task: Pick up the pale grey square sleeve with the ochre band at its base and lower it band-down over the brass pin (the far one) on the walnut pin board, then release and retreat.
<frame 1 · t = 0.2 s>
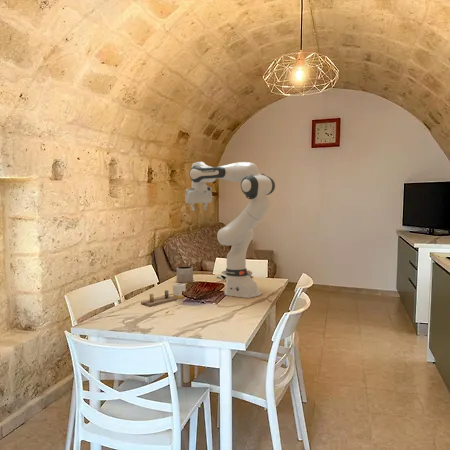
hand: (199, 210, 252), 47 cm above the table, fingers open, 8 cm apart
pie: (237, 278, 278), on the table
sleeve: (179, 297, 226), on the table
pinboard: (159, 302, 216), on the table
planter: (184, 281, 267), on the table
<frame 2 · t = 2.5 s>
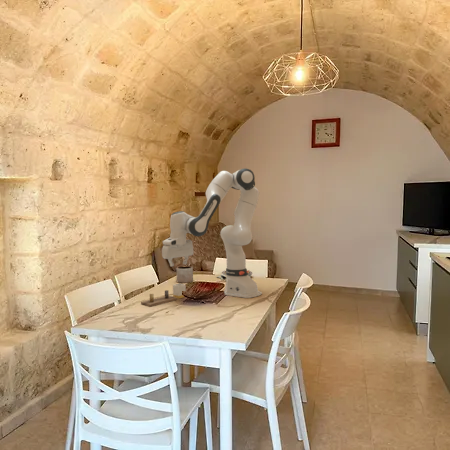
hand: (178, 265, 224), 18 cm above the table, fingers open, 8 cm apart
nothing on the table moved.
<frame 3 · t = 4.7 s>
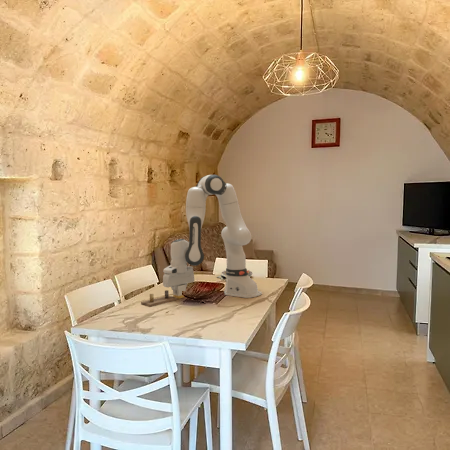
hand: (179, 292, 226), 3 cm above the table, fingers closed on sleeve, 5 cm apart
sleeve: (179, 297, 226), on the table, touching gripper
everything else where it was.
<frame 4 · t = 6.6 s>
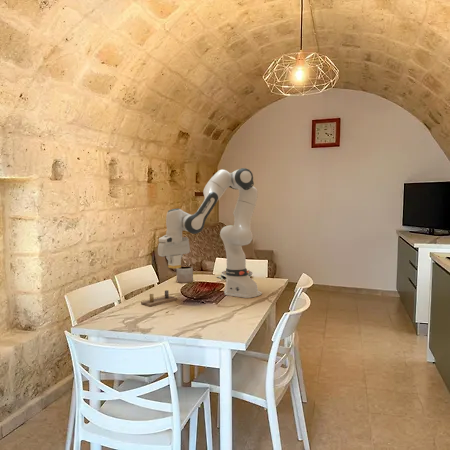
hand: (174, 262, 223), 20 cm above the table, fingers closed on sleeve, 5 cm apart
sleeve: (174, 267, 223), point 17 cm above the table, touching gripper
everything else where it was.
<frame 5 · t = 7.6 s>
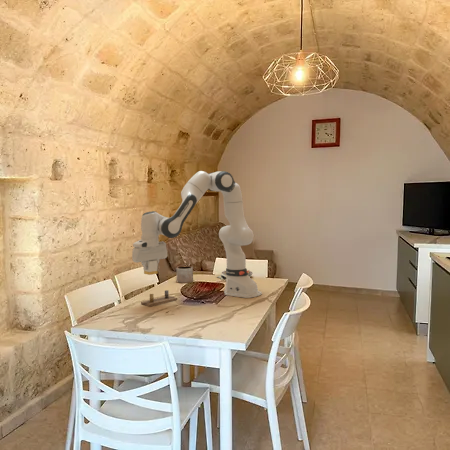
hand: (150, 268, 211), 19 cm above the table, fingers closed on sleeve, 5 cm apart
sleeve: (150, 273, 211), point 16 cm above the table, touching gripper
everything else where it was.
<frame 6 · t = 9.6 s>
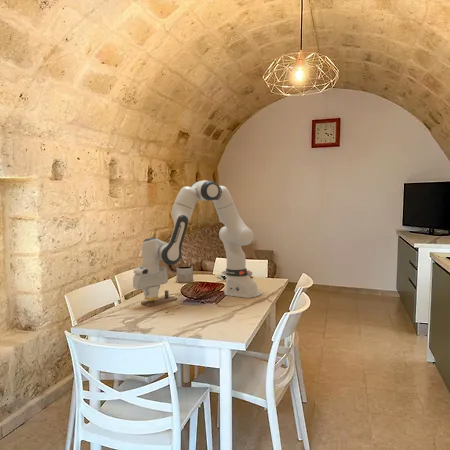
hand: (151, 294, 212), 5 cm above the table, fingers closed on sleeve, 5 cm apart
sleeve: (151, 299, 212), point 2 cm above the table, touching gripper
everything else where it was.
when the fingers open (5 cm above the table, at t = 10.5 s): sleeve stays where it is, resting on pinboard.
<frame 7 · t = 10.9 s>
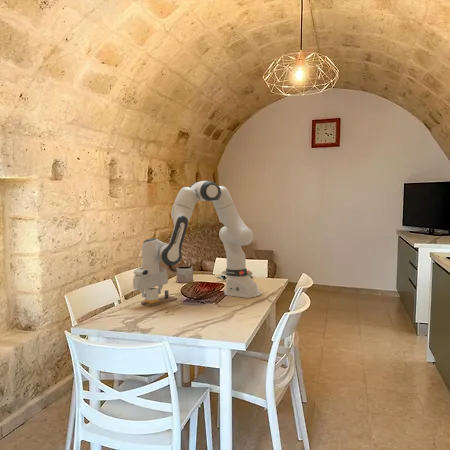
hand: (151, 295, 212), 5 cm above the table, fingers open, 8 cm apart
sleeve: (151, 301, 212), point 1 cm above the table, touching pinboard
everything else where it was.
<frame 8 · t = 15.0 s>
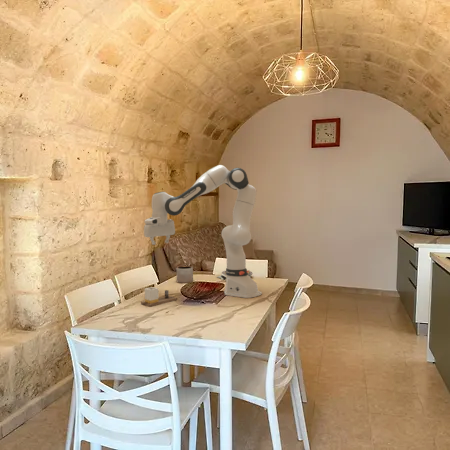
hand: (160, 243, 233), 29 cm above the table, fingers open, 8 cm apart
nothing on the table moved.
at the end: sleeve 0.1 cm from the target spot on the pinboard, point 1.2 cm above the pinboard's base; sleeve tilted 0°; the gripper is holding nothing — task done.
